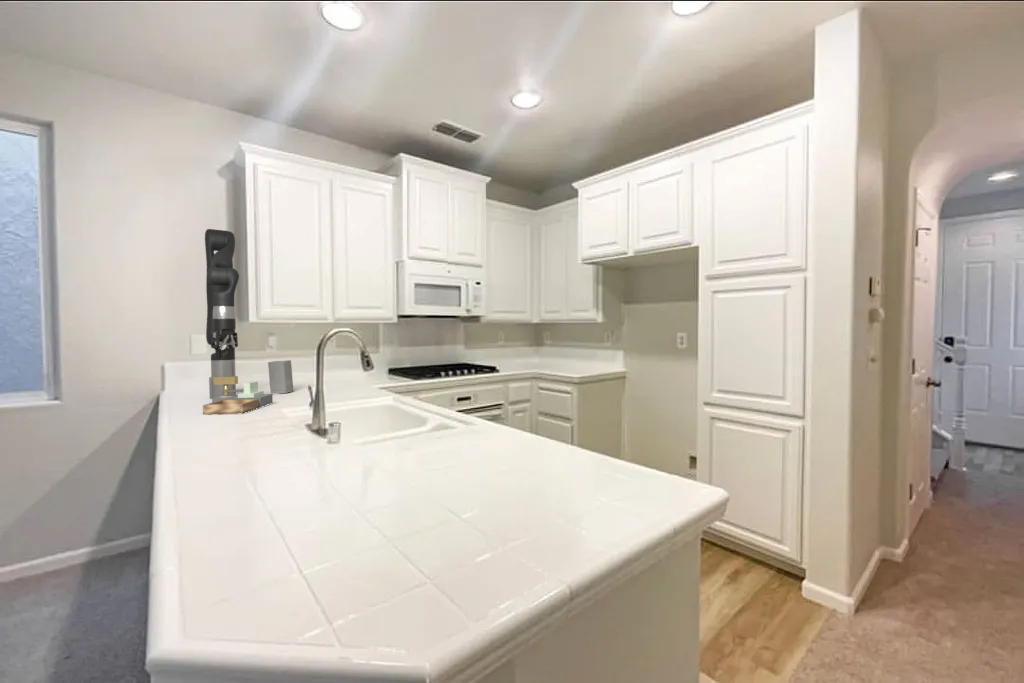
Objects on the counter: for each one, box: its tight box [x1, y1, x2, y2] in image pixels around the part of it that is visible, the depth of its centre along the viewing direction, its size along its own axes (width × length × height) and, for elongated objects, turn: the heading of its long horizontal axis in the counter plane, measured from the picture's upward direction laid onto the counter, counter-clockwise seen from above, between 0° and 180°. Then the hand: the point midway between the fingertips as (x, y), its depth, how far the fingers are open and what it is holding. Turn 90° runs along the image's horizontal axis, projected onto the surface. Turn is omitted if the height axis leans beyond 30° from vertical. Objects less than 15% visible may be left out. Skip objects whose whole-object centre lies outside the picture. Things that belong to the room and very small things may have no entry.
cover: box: [237, 381, 265, 398], centre depth 175 cm, size 6×8×6 cm
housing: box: [211, 393, 274, 408], centre depth 175 cm, size 18×10×4 cm, turn 95°
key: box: [213, 375, 244, 396], centre depth 175 cm, size 12×2×8 cm, turn 95°
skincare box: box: [267, 360, 294, 394], centre depth 213 cm, size 8×7×16 cm
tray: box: [202, 399, 260, 416], centre depth 163 cm, size 14×12×4 cm
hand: (225, 358), depth 174 cm, fingers open, 8 cm apart
